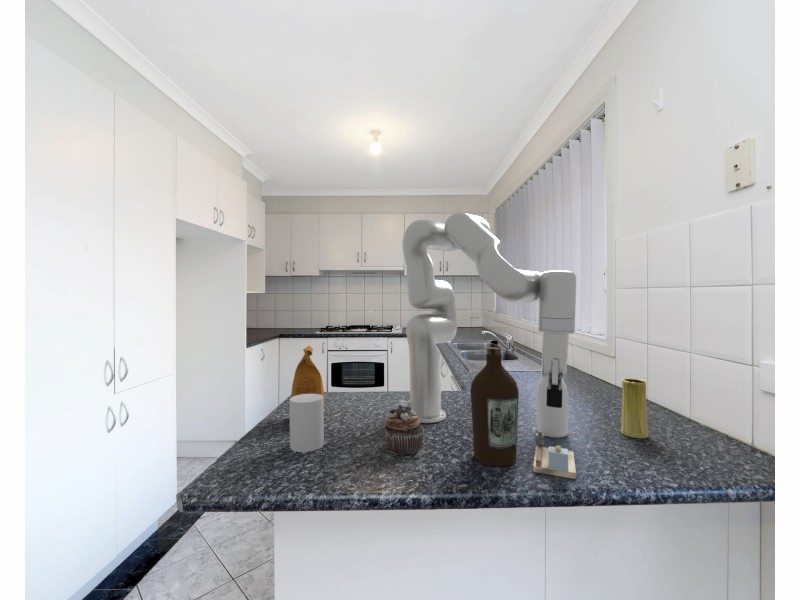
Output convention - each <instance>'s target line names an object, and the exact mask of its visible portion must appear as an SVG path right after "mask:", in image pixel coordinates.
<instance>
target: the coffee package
mask: <svg viewBox="0 0 800 600" xmlns="http://www.w3.org/2000/svg"><path fill="white" fill-rule="evenodd" d="M313 351H314V349H313V347H312V346H311V345H308V346H307V347H305V348H303V353H304V354H303V357H302V358H301V360H300V361H299V362H298V363H297V365H296V368H295V370H294V377H293V379H292V380H293V381H292V384H291V392H290V393H291V394H290V398H291V397H293V396H296V395H301V394H320V395H322V396H323V408H324V409H325V389H324V384H323V383H324V382H323V379H322V375H321V373H320V371H319V369H318V367H317V366H316V364H315V363H314V362H313V360H312V358H311V356H313Z"/></svg>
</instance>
